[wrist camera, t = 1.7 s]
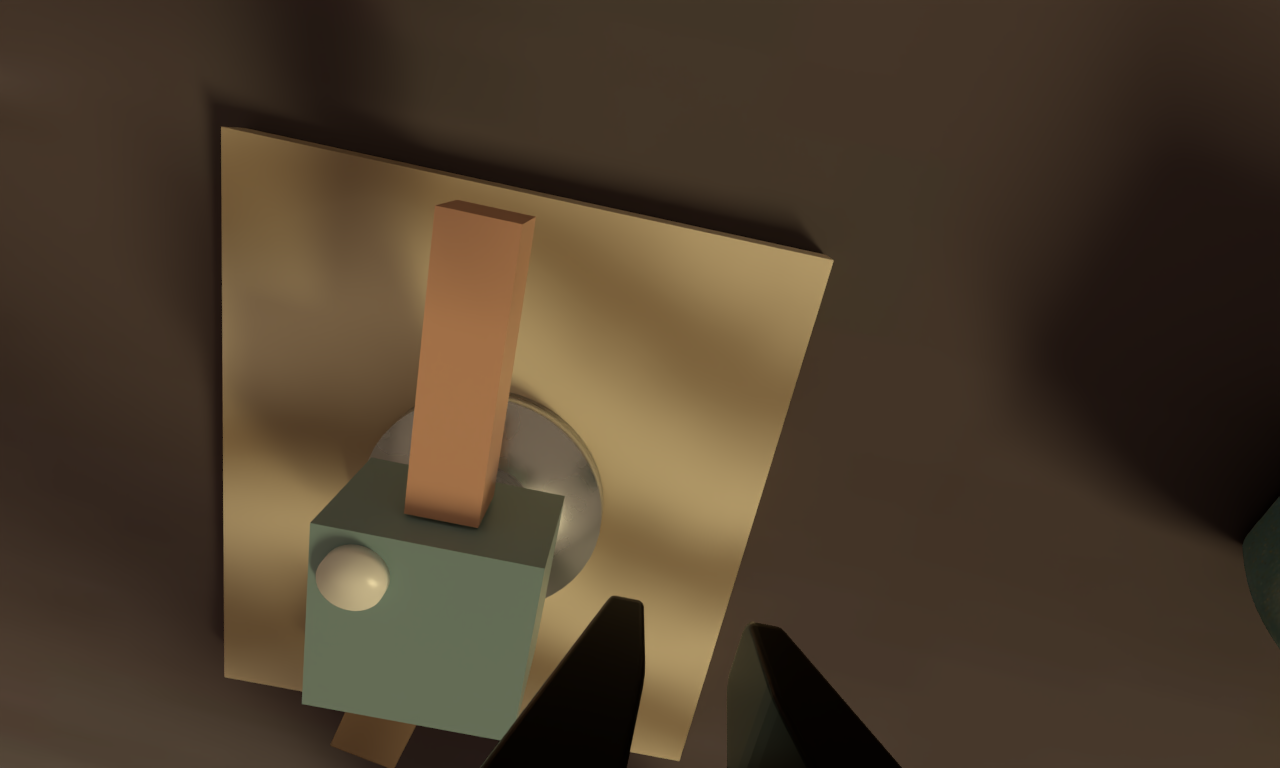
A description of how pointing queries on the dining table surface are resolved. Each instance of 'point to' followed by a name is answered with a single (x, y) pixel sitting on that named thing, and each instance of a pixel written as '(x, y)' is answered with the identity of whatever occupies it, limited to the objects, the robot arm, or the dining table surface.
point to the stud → (536, 475)
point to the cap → (440, 517)
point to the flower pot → (1265, 568)
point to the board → (543, 371)
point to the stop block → (372, 738)
